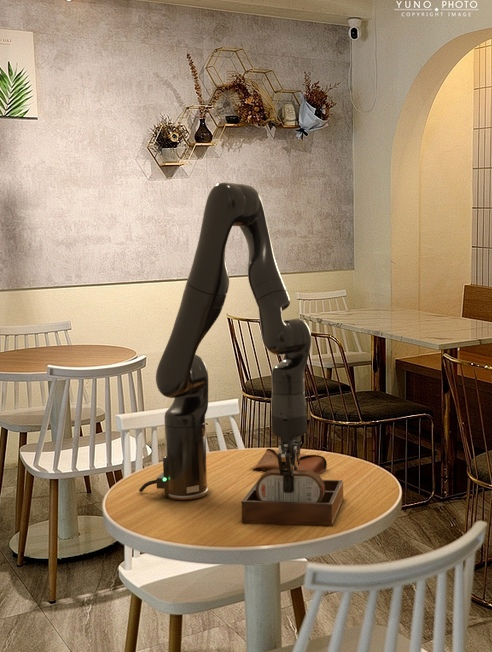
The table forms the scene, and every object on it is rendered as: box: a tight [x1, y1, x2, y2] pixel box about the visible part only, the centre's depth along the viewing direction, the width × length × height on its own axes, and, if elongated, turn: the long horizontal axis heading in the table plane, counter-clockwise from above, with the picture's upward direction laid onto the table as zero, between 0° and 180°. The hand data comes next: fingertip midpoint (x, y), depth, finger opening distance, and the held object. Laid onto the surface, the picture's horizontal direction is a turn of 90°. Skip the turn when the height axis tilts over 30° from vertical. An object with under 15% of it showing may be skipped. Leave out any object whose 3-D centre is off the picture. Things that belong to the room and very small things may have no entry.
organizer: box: [240, 477, 344, 527], centre depth 194 cm, size 20×16×5 cm
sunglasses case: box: [252, 448, 328, 475], centre depth 225 cm, size 18×7×7 cm
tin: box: [256, 469, 325, 503], centre depth 190 cm, size 15×3×8 cm, turn 84°
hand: (290, 489), depth 190 cm, fingers closed on tin, 2 cm apart
